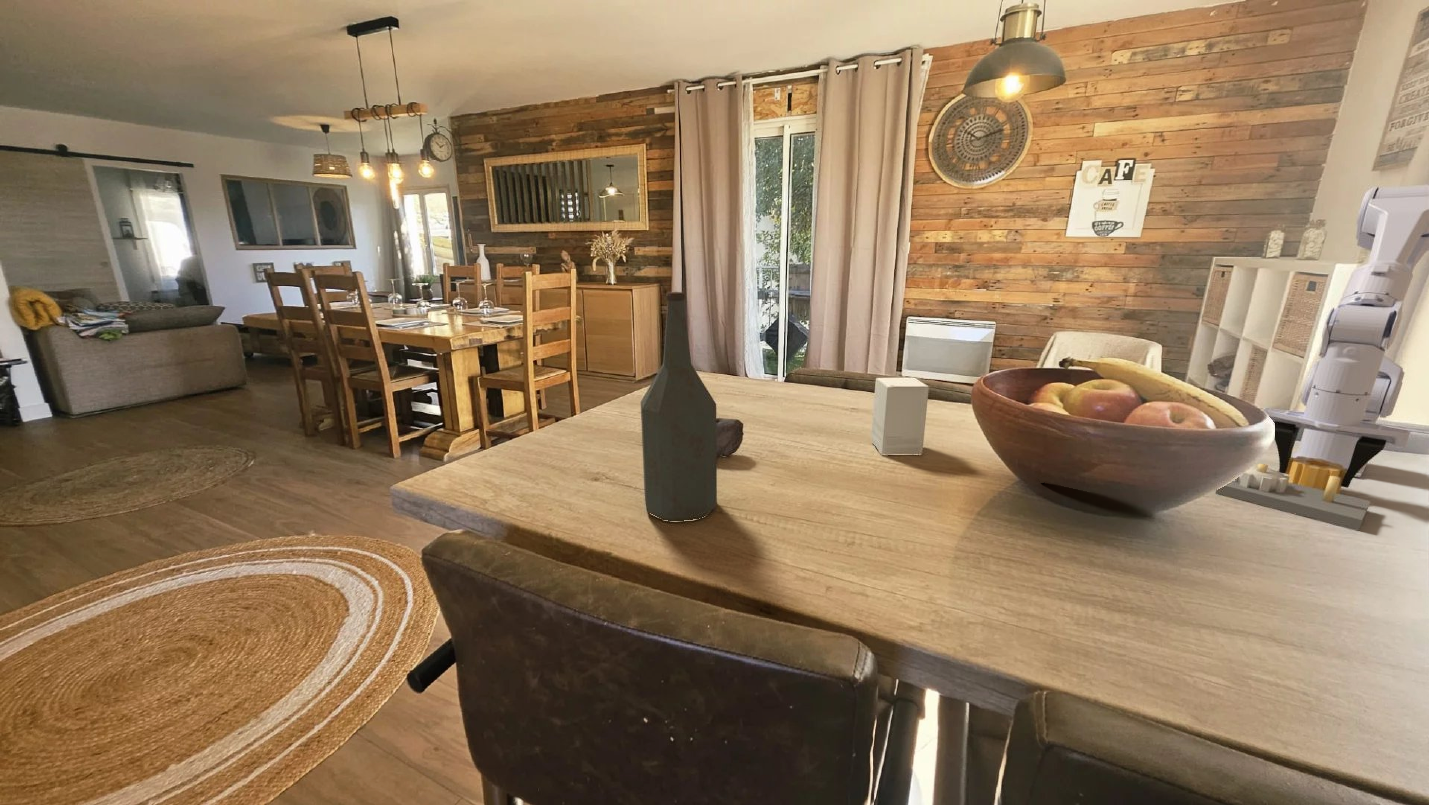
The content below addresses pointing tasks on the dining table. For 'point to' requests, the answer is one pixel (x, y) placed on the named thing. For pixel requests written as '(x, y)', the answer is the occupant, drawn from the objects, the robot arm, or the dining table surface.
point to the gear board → (1297, 497)
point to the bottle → (678, 430)
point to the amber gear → (1314, 472)
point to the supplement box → (899, 415)
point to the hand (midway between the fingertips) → (1313, 478)
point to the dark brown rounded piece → (728, 436)
